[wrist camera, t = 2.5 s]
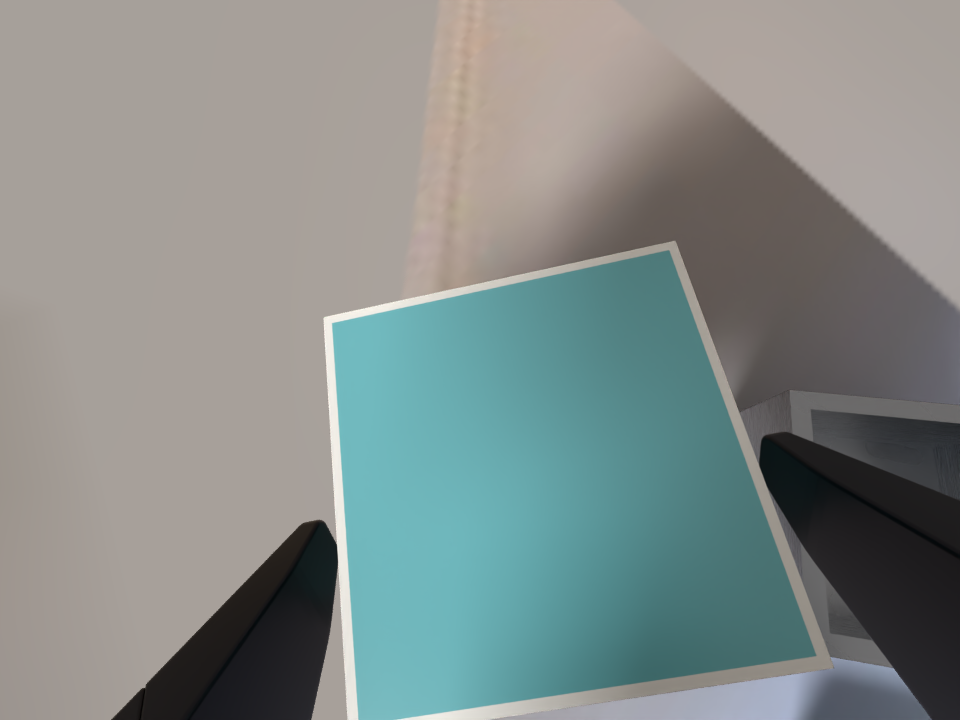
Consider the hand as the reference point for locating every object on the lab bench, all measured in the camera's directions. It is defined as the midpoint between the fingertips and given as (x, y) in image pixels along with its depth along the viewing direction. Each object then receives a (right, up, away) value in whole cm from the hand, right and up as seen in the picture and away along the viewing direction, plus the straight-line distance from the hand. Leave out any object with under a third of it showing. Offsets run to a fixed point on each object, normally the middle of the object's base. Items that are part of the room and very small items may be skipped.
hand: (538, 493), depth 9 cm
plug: (+1, -2, +8) cm, 8 cm away
